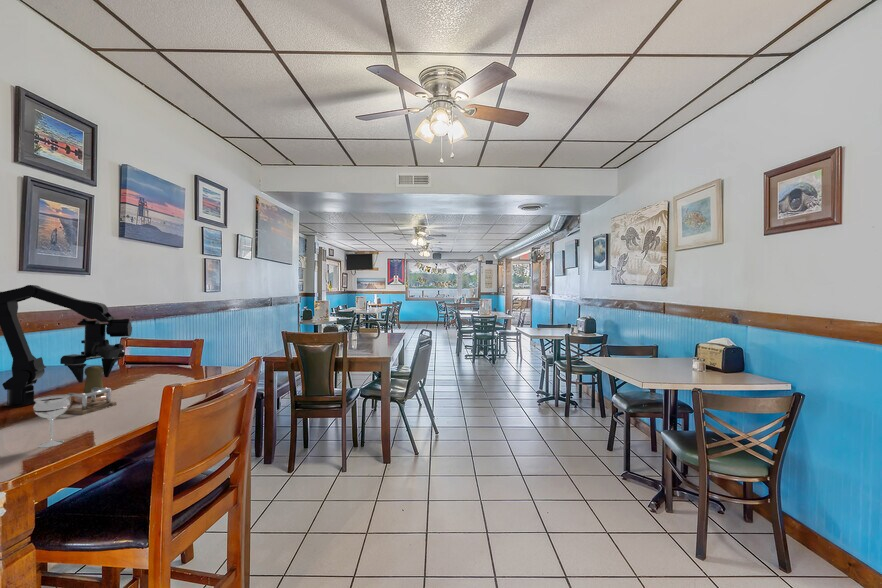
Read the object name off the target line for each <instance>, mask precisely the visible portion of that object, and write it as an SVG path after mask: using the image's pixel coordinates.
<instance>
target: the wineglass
mask: <svg viewBox="0 0 882 588" xmlns="http://www.w3.org/2000/svg"><path fill="white" fill-rule="evenodd" d="M69 396H70V395H67V394H51V395H45V396H44V395H43V396H40V397H36V398H34V401H35V402H36V403H34V405H33V407H32V409H33V412H34V414H35V415H37V416H38V417H40V418H45V419H47V420H48V421H49V440H48V441H47V440H46V441H45V442H41V443H39V444H37V448H50V447H56V446H59V445H61V444H64V443H65V440H60V439H53V435H54V422H55V419H57V418H58V417H59V416H61V415H63V414H65V413H64V412H65V411H66V410H68V408H69V405H70V401H69V400H68V398H69ZM63 442H64V443H63Z"/></svg>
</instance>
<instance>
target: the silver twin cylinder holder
mask: <svg viewBox="0 0 882 588" xmlns="http://www.w3.org/2000/svg"><path fill="white" fill-rule="evenodd" d="M102 393H106V400H105V401H106V403H111V402H112V397H111V394H112V389H111V388H110V387H103V388H99V387H93V388H92V389H91V393H87V394H83V393H77V392H76V393H75V392H68V393H67V394H66V395H70V396H69V398H68V400H69V401H70V405H69V408H68V409H70V408H71V407H72V398H76V397H80V398H82V403H81V408H82V410H87V407H88V406H87V397H90V396H91V402H96V395H98V394H102Z"/></svg>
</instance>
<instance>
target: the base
mask: <svg viewBox="0 0 882 588" xmlns="http://www.w3.org/2000/svg"><path fill="white" fill-rule="evenodd" d="M113 405H114V406H117V401H111V403H106V400H103V401H96V402H91V401H90V402H87V410H82V407H75V406H71V408H70V409H68V410H66V411H65V412H64V413H63V414H74V415H86V413H87V414H90V413H93V412H96V410H97V411H100V410H104V409H106V407H107V408H110V407H109V406H111V407H114V406H113ZM103 408H104V409H103Z"/></svg>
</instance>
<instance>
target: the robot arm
mask: <svg viewBox="0 0 882 588" xmlns="http://www.w3.org/2000/svg"><path fill="white" fill-rule="evenodd" d="M31 298H34V299H37V300H41V301H44V302H46V303H50V304H53V305H57V306H59V307H62V308H66V309H69V310H71V311H73V312H75V313H77V314H78V315H80V316H82V317H84V318H82V320H80V321H78V322H77V324H76V325H77V326H84V339H82V340H80V341H81V344H83V345H84V348H83V349H84V351H81V352H80V354H77V353H76V354H74V353H73V354H67V355H62V356H61V357H60V360H59V361H60V365H63V366H64V367H67V368H68V369H69V370H70V371H71V373H72V374H73V375H74V377H75V379H76V380H77V381H78V383H79V384H80V383H81V384H82V383H83V381H84V373H85V368H86V367H87V365H88V364H87V363H86V361H90V360H95V359H101V364H102V365H101V366H102V367H103V375H104V378H109V376H110V374H111V371H112V369H113V368H114V365H115V364H116V363H117V362H119V360H121V359H122V358H123V357H125V355H126V353H125V350H124V344H123V343H115V344H110V340H109V339H107V338H106V335H107V336H110V338H117V337H118V338H120V337H121V338H123V337H124V338H125V337H129V338H130V337H131V336H132V333H133V326H132V322H131V318H115V317H114V316H112V314H111V313H110V312H109V308H108V306H107V305H106V304H104V303H102V302H96V301H90V300H84V299H78V298H76V297H72V296H69V295H67V294H66V295H65V294H62V293H59V292H57V291H53V290H50V289H47V288H43V287H41V286H39V285H35V284H27V285H24V286H22V287H19V288H13V289H9V290H5V291H0V331H1V332H2V335H3V338H4V341H5V343H6V345H7V348H8V350H9V352H10V355H11V358H12V363H11V374H12V376H11V377H10V378H8V379H7V380H6V381H4V382H3V383H2V387H3V389H4V390H5V391H6V392H7V397H6V403H3V404H1V405H0V406H1V407H8V408H19V407H25V406H28V405H33V404H36V402H35V401H34V399H35V386H34V385H35V384H37V383H38V380H39V379H40V378H42V377H43V376H44V374H45V369H46V368H47V366H46V365H45V364H44V362H43V361H44V358H42V357H35V356H34V354H33V353H32V352H31V349H30V346H29V343H28V341H27V339H26V335H25V333H24V330H23V327H22V326H21V323H20V321H19V318H18V309H19V304H18V303H19V302H23V301H25V300H28V299H31Z"/></svg>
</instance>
